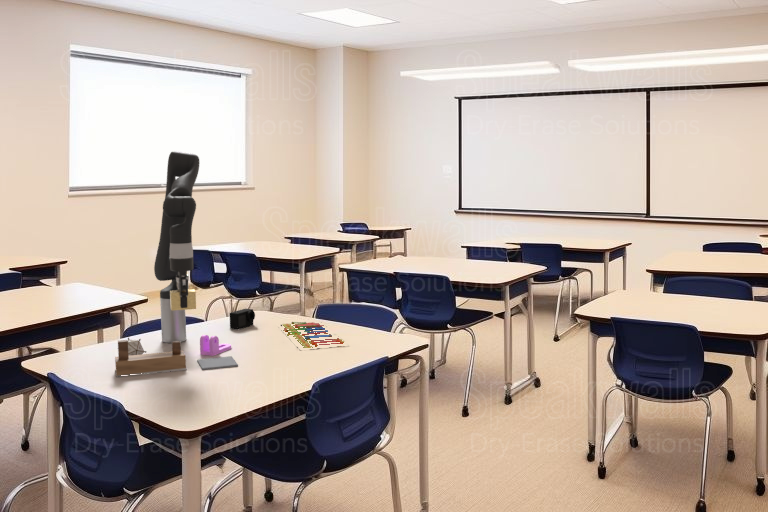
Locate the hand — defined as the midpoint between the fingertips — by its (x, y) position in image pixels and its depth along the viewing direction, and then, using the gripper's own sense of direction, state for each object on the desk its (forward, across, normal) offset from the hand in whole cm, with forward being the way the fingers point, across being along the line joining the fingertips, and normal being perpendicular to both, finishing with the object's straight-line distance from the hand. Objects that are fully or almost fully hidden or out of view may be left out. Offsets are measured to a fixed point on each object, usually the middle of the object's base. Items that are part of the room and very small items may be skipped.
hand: (183, 306), depth 249 cm
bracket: (+22, +18, -13) cm, 31 cm away
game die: (+22, +14, +17) cm, 31 cm away
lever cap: (+1, 0, 0) cm, 1 cm away
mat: (+21, 0, -11) cm, 24 cm away
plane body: (+21, 0, +11) cm, 24 cm away
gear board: (+22, +30, -52) cm, 64 cm away
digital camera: (+22, +55, -28) cm, 66 cm away
